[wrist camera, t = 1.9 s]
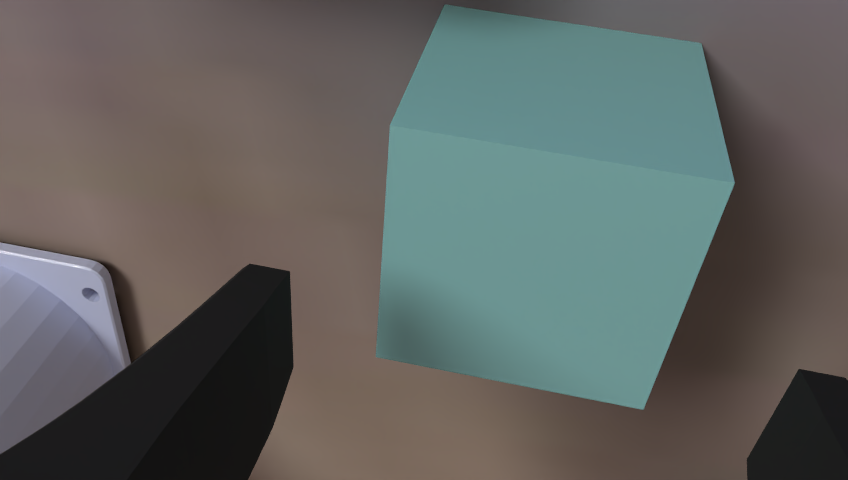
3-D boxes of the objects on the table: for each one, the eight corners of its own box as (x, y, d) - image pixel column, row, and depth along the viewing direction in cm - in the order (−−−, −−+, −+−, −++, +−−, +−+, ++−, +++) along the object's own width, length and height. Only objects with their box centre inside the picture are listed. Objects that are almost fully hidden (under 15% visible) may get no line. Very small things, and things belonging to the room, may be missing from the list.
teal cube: (635, 243, 18) (643, 409, 14) (424, 206, 18) (376, 356, 14) (701, 41, 15) (735, 182, 11) (445, 3, 15) (390, 125, 11)
